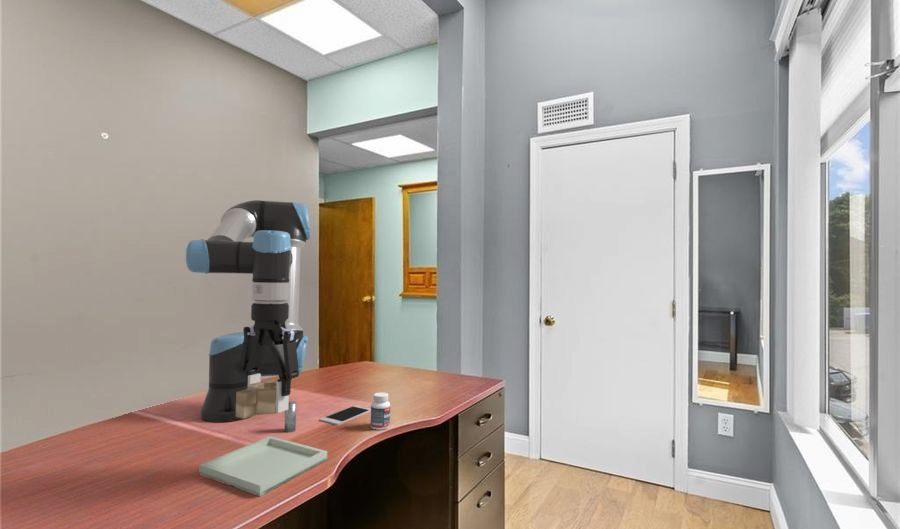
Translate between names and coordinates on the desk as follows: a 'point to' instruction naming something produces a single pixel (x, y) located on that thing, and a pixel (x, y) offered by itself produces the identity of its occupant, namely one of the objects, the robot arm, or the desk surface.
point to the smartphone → (345, 415)
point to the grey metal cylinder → (290, 417)
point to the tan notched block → (256, 399)
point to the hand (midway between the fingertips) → (267, 407)
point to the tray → (263, 464)
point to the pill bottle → (380, 412)
